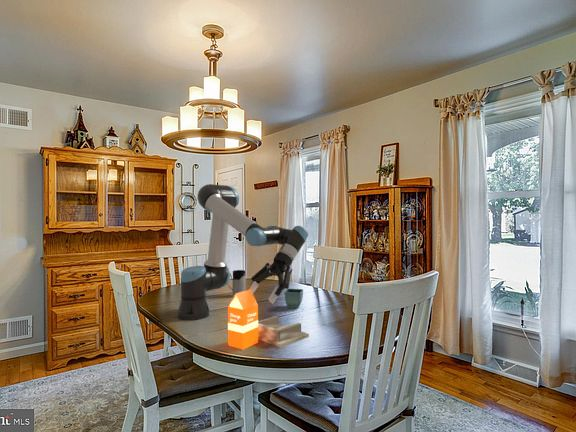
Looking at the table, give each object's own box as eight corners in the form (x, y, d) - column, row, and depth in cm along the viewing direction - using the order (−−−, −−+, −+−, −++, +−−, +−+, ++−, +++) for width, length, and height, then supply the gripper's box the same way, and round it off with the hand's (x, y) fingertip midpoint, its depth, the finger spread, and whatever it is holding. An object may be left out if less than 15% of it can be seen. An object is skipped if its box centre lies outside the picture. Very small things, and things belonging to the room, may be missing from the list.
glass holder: (241, 297, 206) (241, 272, 206) (221, 295, 212) (221, 271, 212) (248, 294, 215) (248, 270, 215) (228, 292, 220) (228, 269, 220)
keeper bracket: (246, 334, 143) (246, 322, 143) (274, 325, 155) (274, 314, 155) (280, 347, 129) (280, 333, 129) (308, 336, 141) (308, 323, 140)
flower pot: (300, 310, 180) (300, 292, 180) (284, 309, 182) (284, 292, 182) (303, 305, 188) (303, 289, 188) (287, 305, 190) (287, 288, 190)
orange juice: (227, 345, 132) (227, 292, 132) (243, 338, 139) (243, 288, 139) (243, 349, 127) (243, 295, 127) (258, 342, 135) (258, 290, 135)
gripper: (311, 265, 141) (286, 310, 131) (269, 260, 159) (244, 299, 148) (302, 253, 137) (275, 298, 127) (261, 249, 155) (234, 288, 144)
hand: (258, 298), depth 137 cm, fingers open, 13 cm apart
